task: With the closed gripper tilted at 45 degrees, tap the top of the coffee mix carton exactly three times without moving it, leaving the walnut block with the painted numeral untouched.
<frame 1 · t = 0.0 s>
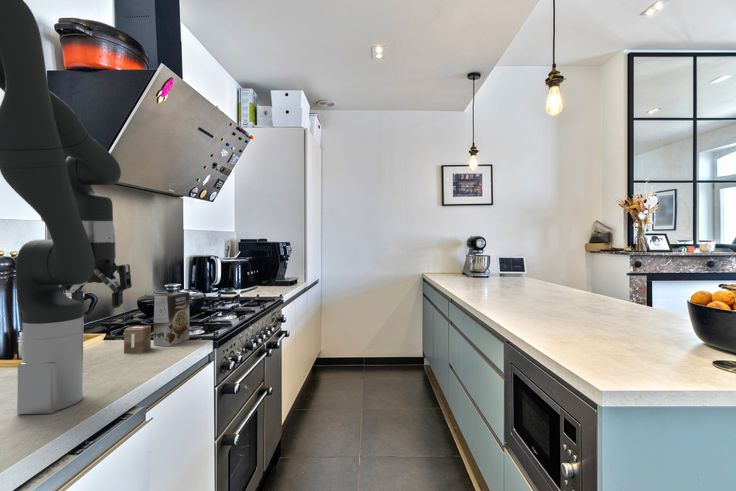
hand: (98, 307, 84), 17 cm above the countertop, tool pointing down, fingers open, 8 cm apart
coffee box: (172, 342, 116), on the countertop
numbered block: (137, 350, 107), on the countertop
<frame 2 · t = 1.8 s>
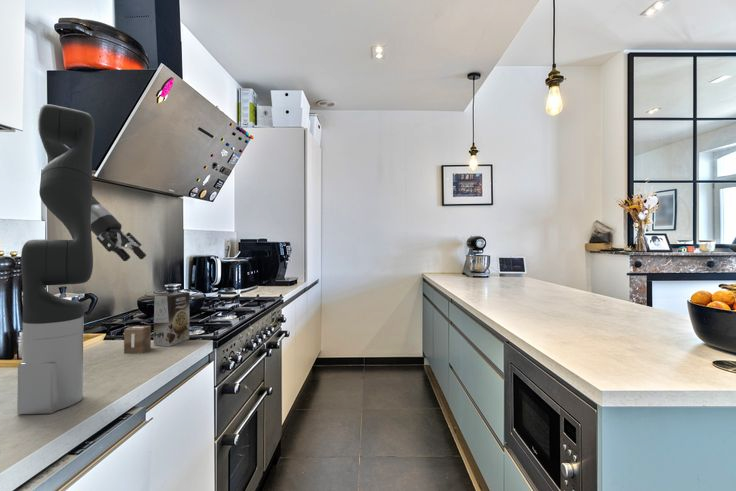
hand: (136, 258, 115), 28 cm above the countertop, tool tilted 45°, fingers open, 8 cm apart
nothing on the countertop moved.
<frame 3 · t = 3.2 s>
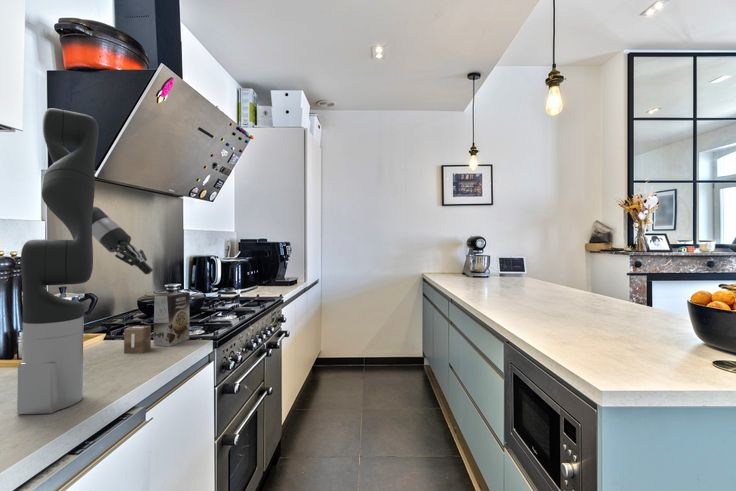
hand: (149, 272, 115), 23 cm above the countertop, tool tilted 45°, fingers closed
nothing on the countertop moved.
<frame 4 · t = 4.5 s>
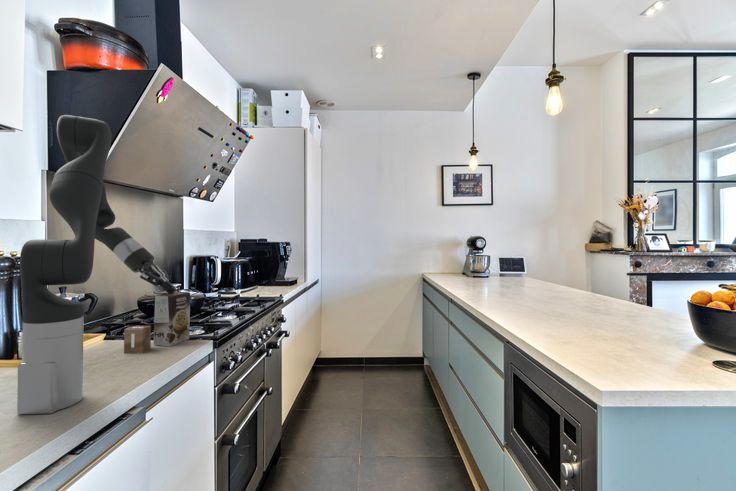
hand: (173, 291, 116), 17 cm above the countertop, tool tilted 45°, fingers closed
coffee box: (172, 342, 116), on the countertop, touching gripper
everything else where it was.
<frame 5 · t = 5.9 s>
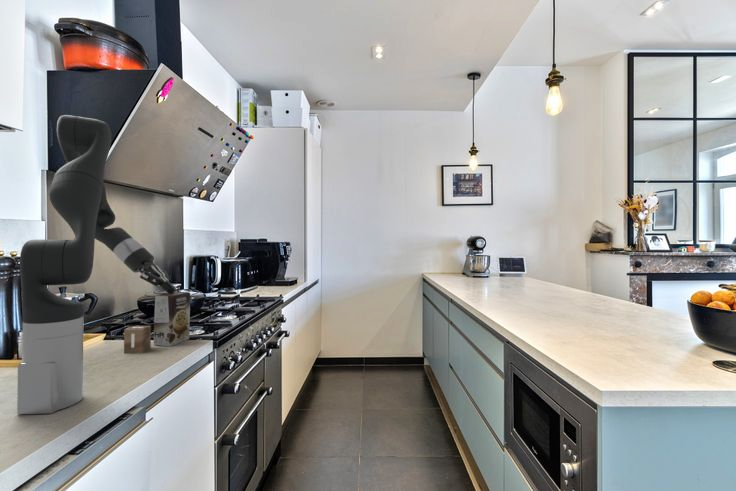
hand: (173, 291, 116), 17 cm above the countertop, tool tilted 45°, fingers closed
nothing on the countertop moved.
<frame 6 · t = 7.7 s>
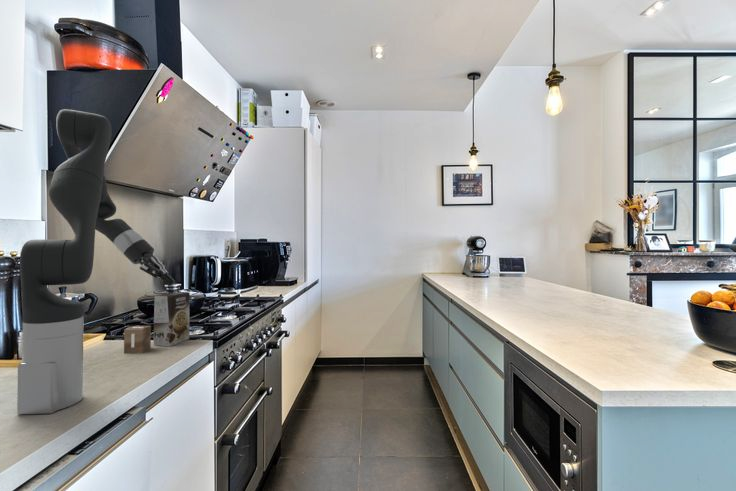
hand: (172, 283, 116), 19 cm above the countertop, tool tilted 45°, fingers closed
coffee box: (172, 342, 116), on the countertop
everything else where it was.
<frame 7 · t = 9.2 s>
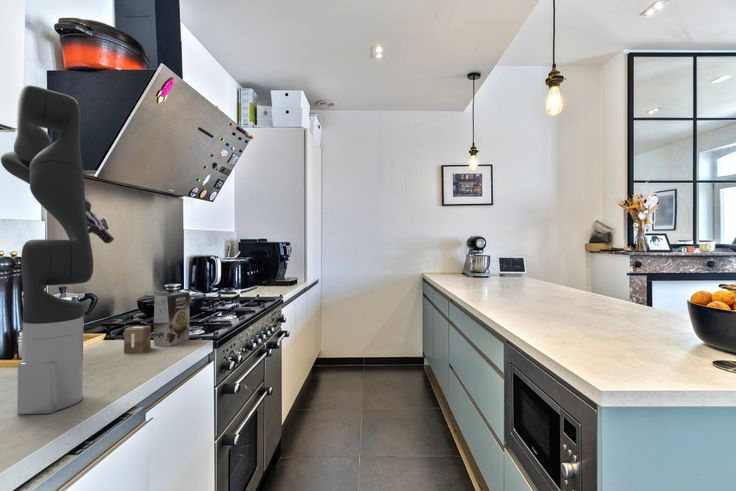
hand: (110, 241, 106), 33 cm above the countertop, tool tilted 45°, fingers closed
nothing on the countertop moved.
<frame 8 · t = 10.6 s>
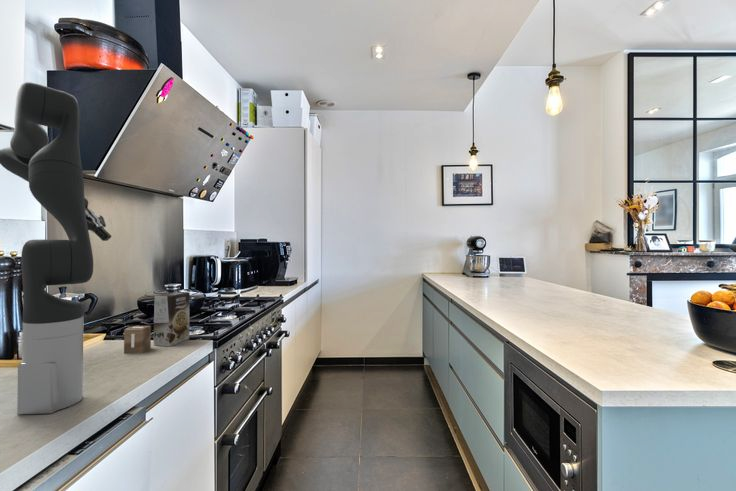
hand: (107, 238, 106), 34 cm above the countertop, tool tilted 45°, fingers closed
nothing on the countertop moved.
at the end: coffee box moved 0.2 cm from its start; coffee box tilted 0°; numbered block moved 0.1 cm from its start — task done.
